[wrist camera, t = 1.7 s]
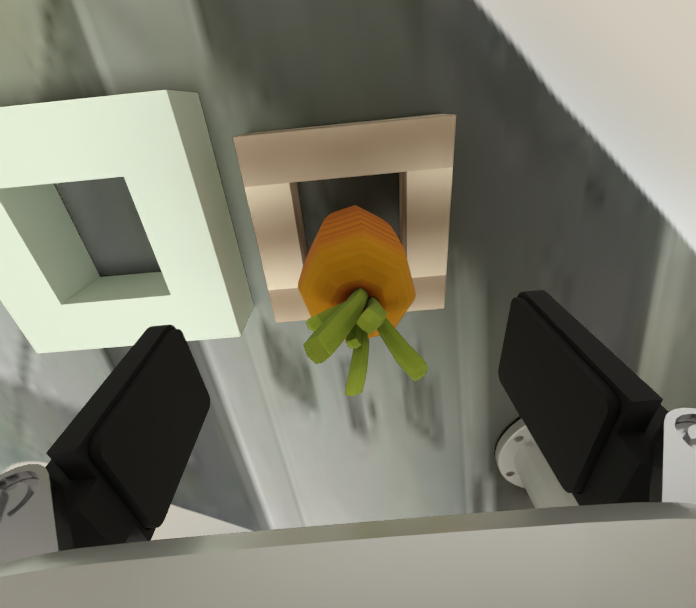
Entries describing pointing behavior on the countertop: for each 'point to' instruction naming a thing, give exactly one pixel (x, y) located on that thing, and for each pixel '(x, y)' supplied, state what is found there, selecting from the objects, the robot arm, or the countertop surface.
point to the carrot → (357, 292)
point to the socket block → (349, 161)
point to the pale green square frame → (153, 208)
